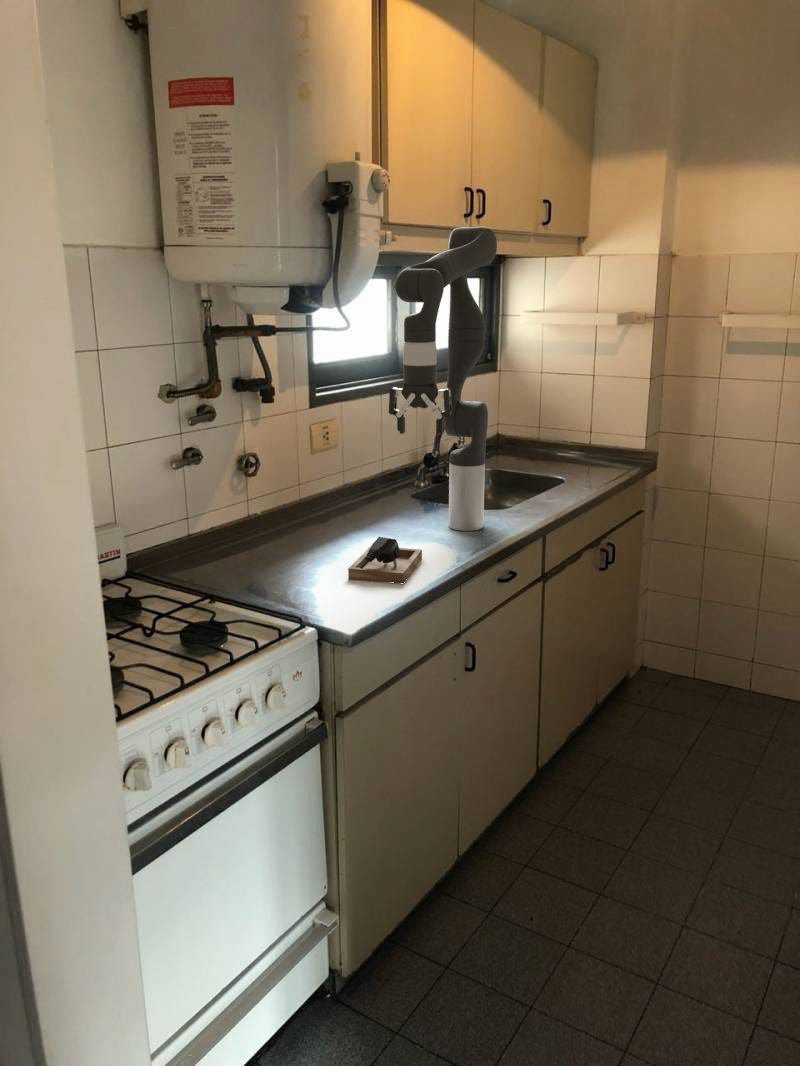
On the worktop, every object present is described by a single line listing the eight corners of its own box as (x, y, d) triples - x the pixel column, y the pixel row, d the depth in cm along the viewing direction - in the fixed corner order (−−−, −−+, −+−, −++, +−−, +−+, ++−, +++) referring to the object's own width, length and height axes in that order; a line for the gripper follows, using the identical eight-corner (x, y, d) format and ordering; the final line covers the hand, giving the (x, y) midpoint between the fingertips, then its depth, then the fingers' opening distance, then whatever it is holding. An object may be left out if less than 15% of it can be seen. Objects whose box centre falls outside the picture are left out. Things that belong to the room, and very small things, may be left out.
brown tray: (371, 555, 202) (371, 545, 201) (422, 559, 199) (422, 549, 198) (348, 579, 186) (348, 568, 185) (403, 584, 183) (403, 573, 182)
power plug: (350, 562, 185) (379, 528, 192) (359, 588, 189) (387, 554, 196) (370, 567, 182) (399, 532, 189) (379, 593, 186) (407, 558, 193)
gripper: (454, 361, 191) (454, 432, 196) (393, 359, 195) (394, 429, 200) (447, 364, 184) (447, 438, 189) (384, 363, 188) (386, 435, 193)
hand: (420, 433), depth 195 cm, fingers open, 8 cm apart
